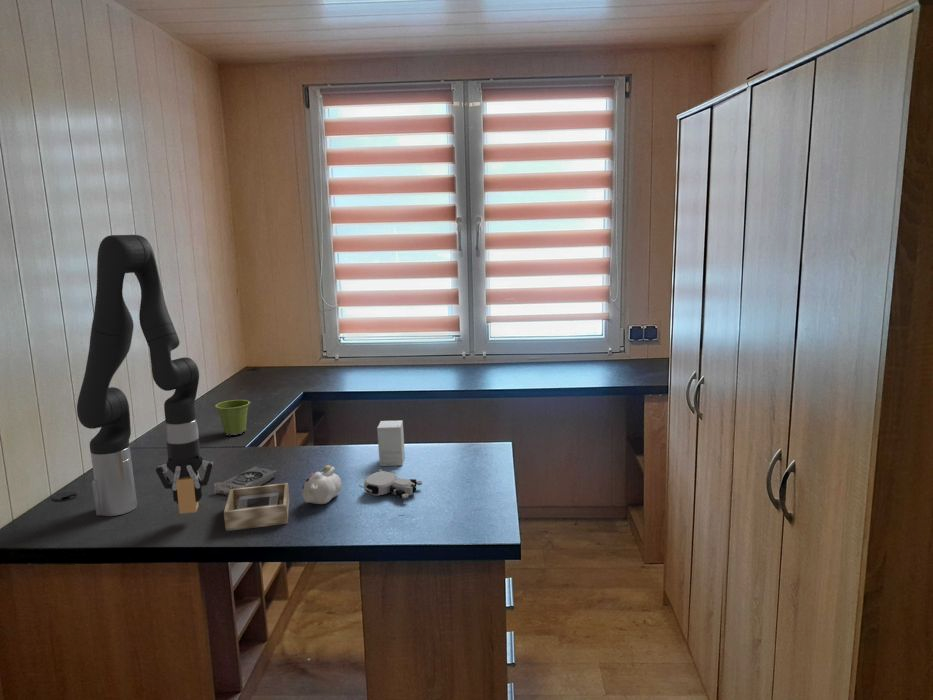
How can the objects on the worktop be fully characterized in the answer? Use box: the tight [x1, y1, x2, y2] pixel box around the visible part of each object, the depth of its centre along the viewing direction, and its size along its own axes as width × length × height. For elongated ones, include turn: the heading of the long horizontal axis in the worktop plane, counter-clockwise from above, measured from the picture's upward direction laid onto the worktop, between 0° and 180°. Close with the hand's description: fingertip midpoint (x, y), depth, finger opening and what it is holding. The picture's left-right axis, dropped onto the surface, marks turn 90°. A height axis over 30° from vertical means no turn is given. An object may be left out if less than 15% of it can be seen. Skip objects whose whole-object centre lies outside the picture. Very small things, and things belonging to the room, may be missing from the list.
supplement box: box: [376, 420, 406, 467], centre depth 209 cm, size 7×7×13 cm
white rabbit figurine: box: [301, 464, 343, 505], centre depth 182 cm, size 10×8×15 cm
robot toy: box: [358, 469, 423, 499], centre depth 186 cm, size 12×4×15 cm
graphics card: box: [213, 466, 278, 497], centre depth 194 cm, size 17×4×12 cm
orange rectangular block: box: [176, 476, 199, 515], centre depth 170 cm, size 4×4×9 cm
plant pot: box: [214, 399, 251, 434], centre depth 242 cm, size 12×12×11 cm
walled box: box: [223, 482, 290, 532], centre depth 174 cm, size 15×15×5 cm
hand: (188, 501), depth 171 cm, fingers closed on orange rectangular block, 4 cm apart
